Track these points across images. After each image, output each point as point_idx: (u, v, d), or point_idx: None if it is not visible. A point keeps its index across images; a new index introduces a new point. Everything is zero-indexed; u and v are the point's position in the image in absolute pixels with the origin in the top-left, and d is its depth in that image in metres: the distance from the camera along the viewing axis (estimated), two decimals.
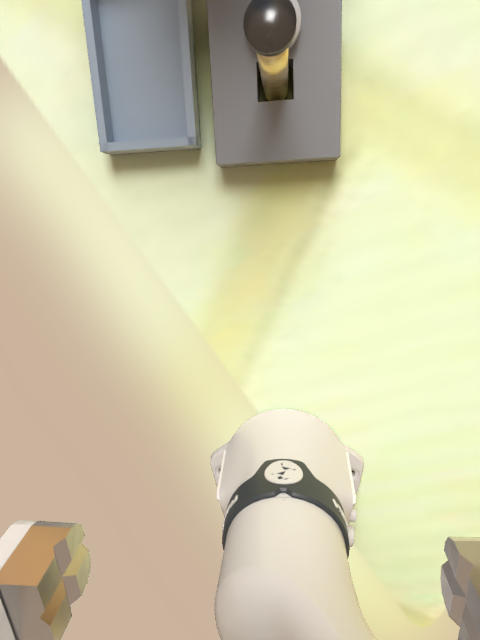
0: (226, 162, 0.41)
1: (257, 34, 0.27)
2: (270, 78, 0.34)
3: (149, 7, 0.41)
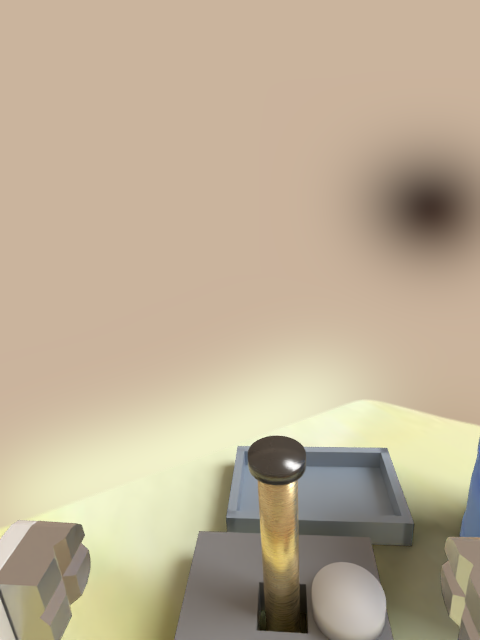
0: (198, 541, 0.34)
1: (266, 444, 0.25)
2: None
3: (367, 503, 0.40)
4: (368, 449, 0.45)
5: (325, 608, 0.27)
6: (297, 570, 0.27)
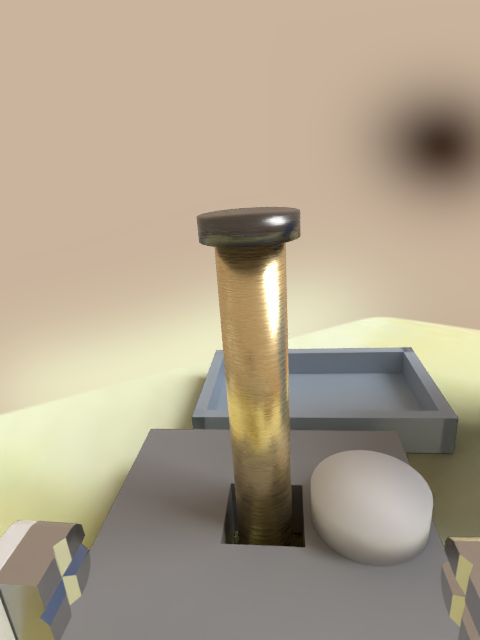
0: (147, 439, 0.24)
1: (232, 211, 0.15)
2: None
3: (387, 408, 0.29)
4: (387, 349, 0.34)
5: (333, 505, 0.17)
6: (287, 441, 0.16)
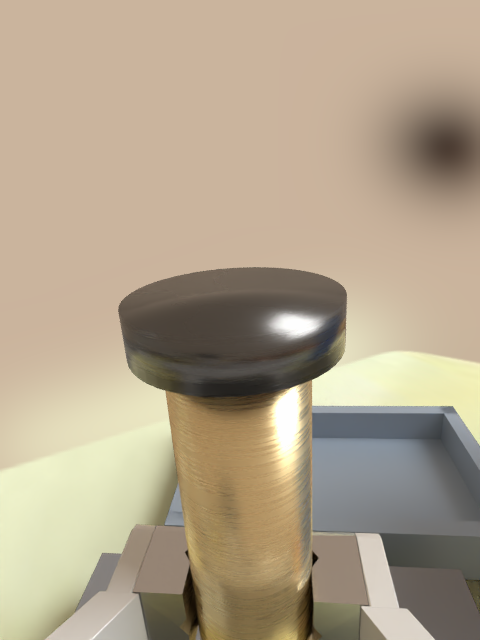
0: (94, 575, 0.16)
1: (202, 281, 0.07)
2: None
3: (429, 499, 0.22)
4: (421, 409, 0.26)
5: None
6: None
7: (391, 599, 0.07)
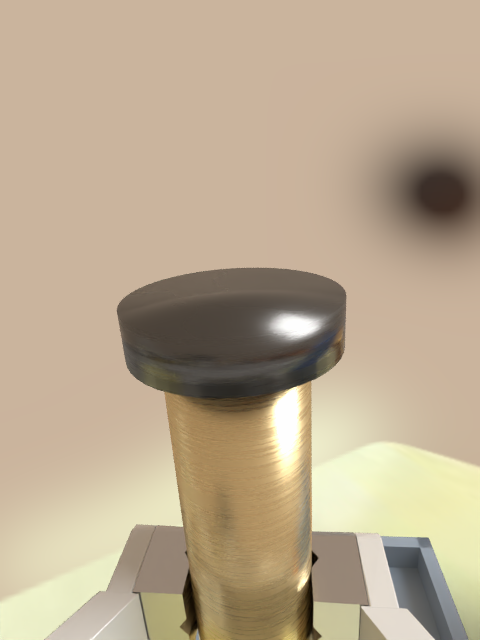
0: None
1: (201, 281, 0.07)
2: None
3: None
4: (399, 541, 0.28)
5: None
6: None
7: (391, 599, 0.07)
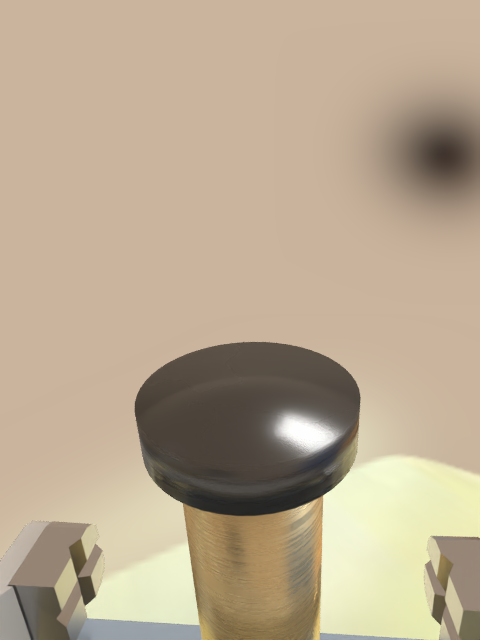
0: None
1: (215, 364, 0.07)
2: None
3: None
4: None
5: None
6: None
7: None
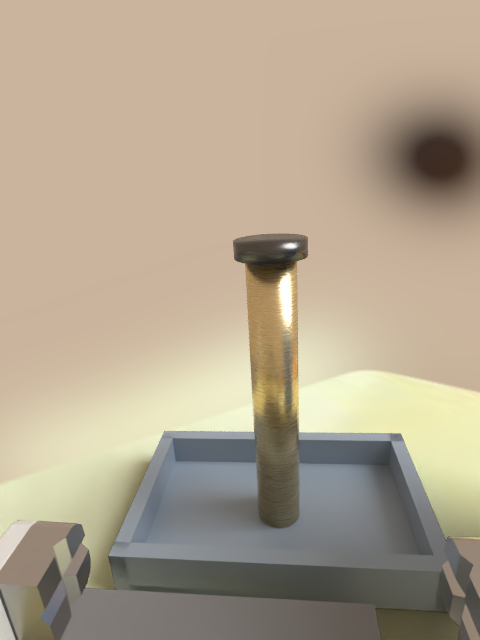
0: None
1: (257, 237, 0.20)
2: None
3: (368, 527, 0.23)
4: (370, 436, 0.27)
5: None
6: (296, 410, 0.22)
7: None
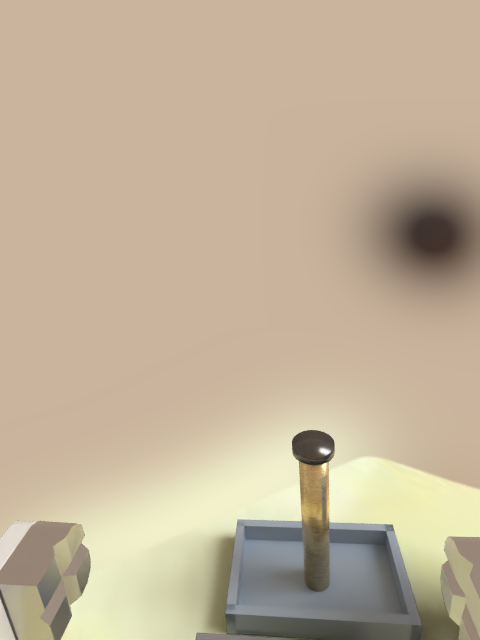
0: None
1: (304, 436, 0.35)
2: (301, 512, 0.37)
3: (372, 591, 0.38)
4: (373, 526, 0.43)
5: None
6: (328, 528, 0.37)
7: None
